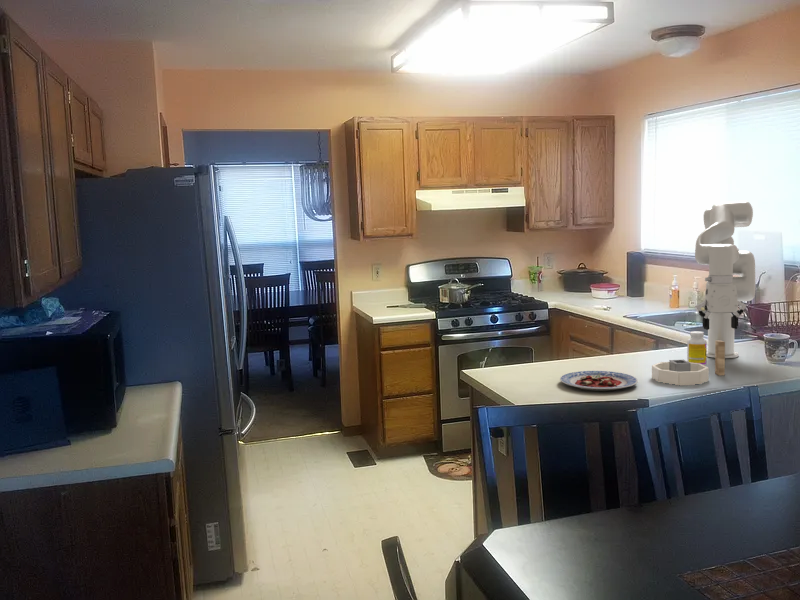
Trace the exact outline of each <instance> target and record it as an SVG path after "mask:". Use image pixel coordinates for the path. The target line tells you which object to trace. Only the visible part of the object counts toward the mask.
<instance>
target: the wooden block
mask: <svg viewBox="0 0 800 600" xmlns="http://www.w3.org/2000/svg"><path fill="white" fill-rule="evenodd" d="M714 360H715V361H714V371H715V372H714V373H715V375H716V376H725V375H726V374H725V373H726V371H725V368H726V366H725V365H726V364H725V363H726V362H725V361H726V358H725V342H724V341H721V340H718V341H715V358H714Z"/></svg>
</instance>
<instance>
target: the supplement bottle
mask: <svg viewBox="0 0 800 600" xmlns="http://www.w3.org/2000/svg"><path fill="white" fill-rule="evenodd" d="M689 335H690V338H688V339H687V348H686V349H687V352H686V353H687V360H686V361H687V362H691V363H699V364H702V365H704V366H706V367H707V359H708V358H707V351H708V341H707V340H706V339H705V338H704V335H705V332H704V331H700V330H699V331H697V330H696V331H695V330H694V331H690V334H689Z"/></svg>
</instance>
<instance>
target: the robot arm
mask: <svg viewBox="0 0 800 600" xmlns="http://www.w3.org/2000/svg"><path fill="white" fill-rule="evenodd" d="M753 209H754V208H753V206H752V205H751V203H750V202H749V201H747V200H739V201H738V200H737V201H736V200H735V201H730V200H729V201H721V202H717V203H715V204H713V205H712V206H711V207H710V208H707V209H705V211H704V212H703V225H704V228H705V229H704V230H703V231H702V232H701V233H700V234H699V235H698V237H697V238H696V242H695V250H694V258H695V262H697V264H698V265H702V266H708V276H707V277H705V278H704V281H705V282H706V284H705V293H704V300H703V301H702V302H700V303H698V304H696V305H695V306H694V309H695V310H696V312H697V314H698V315H699V316H700V317H701V318H702V328H703V329H704V330H707V357H708V358H712V359H713V358H714V359H715V341H718V340H721V341H724V342H725V359H735V358H738V357H739V352H737V351H735V330H737V329H738V326H739V318H740V317H741V315H742V314H743V313H744V310H745V308H746V307H747V304H746V303H743V302H749V301H752V300H753V299H755V296H756V258H755V256H754V254H753V253H752V252H751V251H749V250H740V249H739V248H738V247H737V245H735V240H734V238H733V235H734V234H735V228H747V227H749V226H750V225H751V224H752V221H753V217H754V210H753ZM734 275H735V276H734ZM702 308H704V311H702Z"/></svg>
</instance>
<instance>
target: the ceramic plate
mask: <svg viewBox="0 0 800 600" xmlns="http://www.w3.org/2000/svg"><path fill="white" fill-rule="evenodd" d="M559 381H561V383H563V384H565V385H567V386H570V387H575V388H579V389H581V390H586V391H597V392H599V391H600V392H603V391H605V392H606V391H607V392H608V391H617V390H621V389H625V388H629V387H632V386H634V385H635V386H636V384H638V383H639V380H638V378H636V376H634V375H631V374H628V373H624V372H619V371H618V372H617V371H608V370H582V371H574V372H569V373H565V374H562V376H560V378H559Z"/></svg>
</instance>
